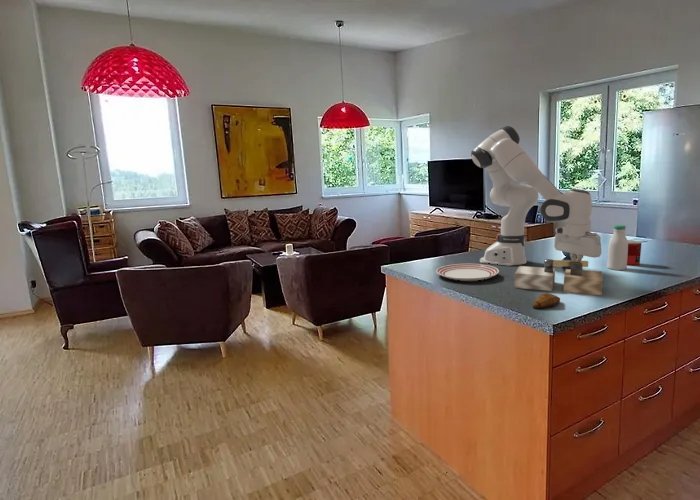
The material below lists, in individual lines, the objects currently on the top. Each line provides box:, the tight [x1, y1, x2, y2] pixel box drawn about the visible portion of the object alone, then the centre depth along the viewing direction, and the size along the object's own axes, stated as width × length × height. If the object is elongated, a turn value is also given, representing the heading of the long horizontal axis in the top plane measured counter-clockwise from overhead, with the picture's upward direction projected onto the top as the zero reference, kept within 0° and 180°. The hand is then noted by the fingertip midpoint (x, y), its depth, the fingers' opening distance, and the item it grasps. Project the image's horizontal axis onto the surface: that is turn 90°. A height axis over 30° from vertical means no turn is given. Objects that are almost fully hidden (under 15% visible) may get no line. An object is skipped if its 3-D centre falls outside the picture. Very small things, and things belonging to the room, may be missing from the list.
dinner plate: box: [435, 263, 500, 282], centre depth 204 cm, size 27×27×3 cm
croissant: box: [532, 292, 561, 309], centre depth 159 cm, size 14×7×5 cm, turn 121°
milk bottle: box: [606, 224, 628, 271], centre depth 206 cm, size 8×8×20 cm
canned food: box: [627, 239, 642, 267], centre depth 215 cm, size 8×8×11 cm
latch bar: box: [543, 258, 589, 268], centre depth 180 cm, size 16×4×2 cm, turn 73°
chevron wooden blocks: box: [513, 263, 604, 296], centre depth 181 cm, size 31×14×11 cm, turn 63°
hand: (576, 264), depth 181 cm, fingers closed
